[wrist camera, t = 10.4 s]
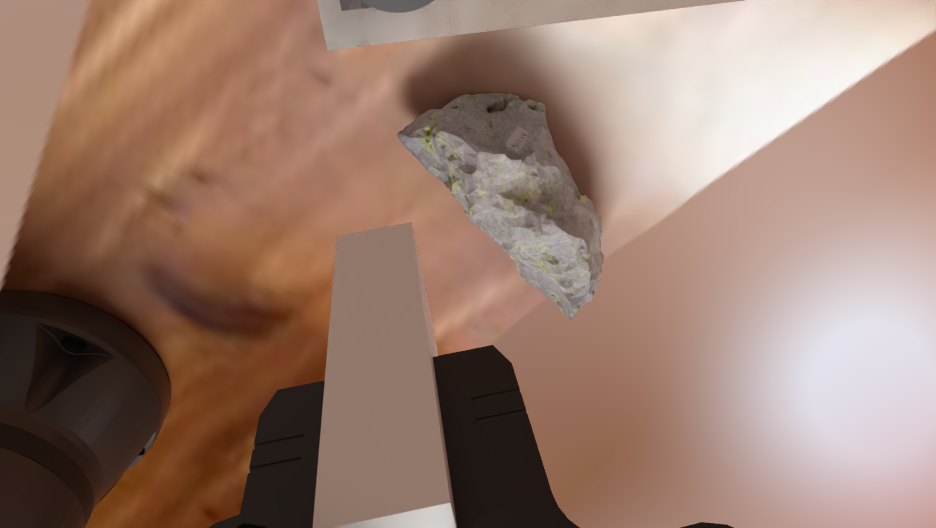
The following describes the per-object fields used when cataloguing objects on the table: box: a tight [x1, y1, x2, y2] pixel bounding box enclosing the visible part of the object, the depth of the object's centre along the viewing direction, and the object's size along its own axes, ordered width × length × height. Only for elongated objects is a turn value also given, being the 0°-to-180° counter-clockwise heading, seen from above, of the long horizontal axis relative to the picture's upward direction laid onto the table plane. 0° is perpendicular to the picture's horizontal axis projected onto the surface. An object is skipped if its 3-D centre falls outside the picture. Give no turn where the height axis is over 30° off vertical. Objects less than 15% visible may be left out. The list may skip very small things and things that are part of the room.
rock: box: [397, 93, 604, 319], centre depth 34 cm, size 16×7×7 cm, turn 37°
